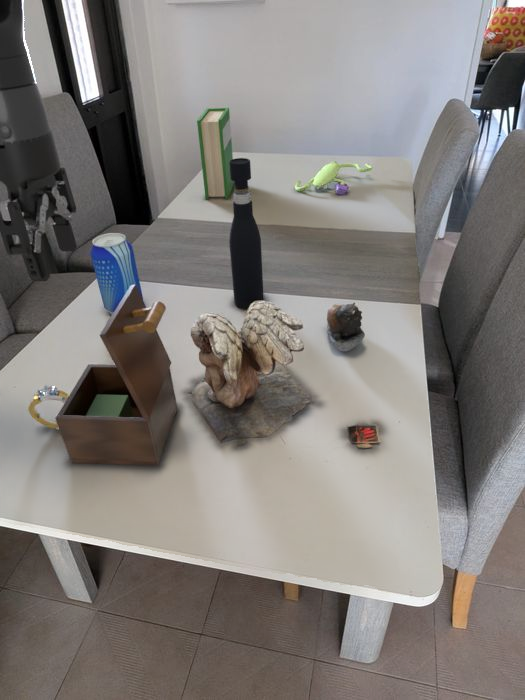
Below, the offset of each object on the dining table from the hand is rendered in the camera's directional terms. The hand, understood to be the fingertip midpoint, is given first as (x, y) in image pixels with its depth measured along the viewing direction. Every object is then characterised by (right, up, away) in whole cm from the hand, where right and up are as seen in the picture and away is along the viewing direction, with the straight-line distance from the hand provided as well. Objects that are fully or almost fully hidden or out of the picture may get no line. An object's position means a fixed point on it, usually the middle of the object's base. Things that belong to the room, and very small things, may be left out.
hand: (55, 264), depth 66 cm
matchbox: (+42, -24, +11) cm, 50 cm away
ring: (-6, -24, +16) cm, 29 cm away
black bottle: (+24, -1, +46) cm, 52 cm away
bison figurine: (+42, -9, +33) cm, 54 cm away
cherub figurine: (+25, -19, +20) cm, 37 cm away
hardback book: (+13, +43, +109) cm, 117 cm away
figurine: (+51, +45, +109) cm, 128 cm away
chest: (+6, -24, +14) cm, 29 cm away
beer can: (-3, -2, +46) cm, 46 cm away
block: (+4, -23, +14) cm, 27 cm away
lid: (+9, -11, +4) cm, 15 cm away
